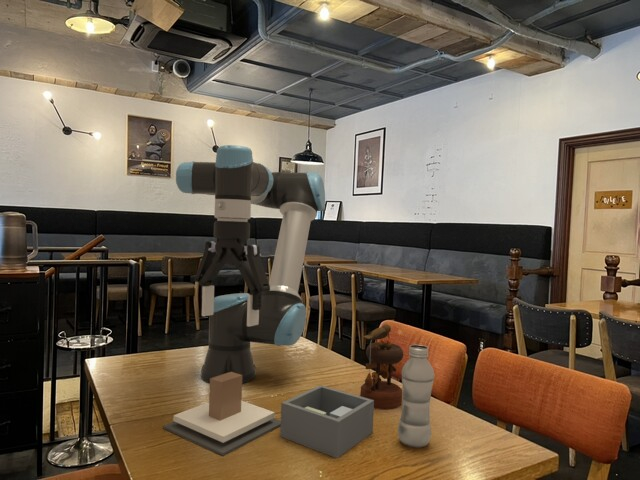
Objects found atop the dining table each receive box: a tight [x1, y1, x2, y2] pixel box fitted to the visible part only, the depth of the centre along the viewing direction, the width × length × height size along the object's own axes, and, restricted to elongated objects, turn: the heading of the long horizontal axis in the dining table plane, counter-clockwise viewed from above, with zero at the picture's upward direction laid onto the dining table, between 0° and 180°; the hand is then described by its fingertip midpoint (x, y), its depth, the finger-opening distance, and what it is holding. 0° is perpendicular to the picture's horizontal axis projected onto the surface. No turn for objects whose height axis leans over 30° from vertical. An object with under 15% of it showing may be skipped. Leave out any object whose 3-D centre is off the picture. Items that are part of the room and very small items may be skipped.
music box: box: [359, 323, 404, 410], centre depth 117 cm, size 15×11×20 cm
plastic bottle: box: [397, 344, 435, 448], centre depth 94 cm, size 6×7×20 cm
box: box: [279, 384, 375, 459], centre depth 96 cm, size 14×14×7 cm
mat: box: [162, 418, 281, 457], centre depth 98 cm, size 18×18×1 cm
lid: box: [172, 372, 276, 443], centre depth 98 cm, size 15×15×10 cm
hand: (229, 320), depth 98 cm, fingers open, 13 cm apart
